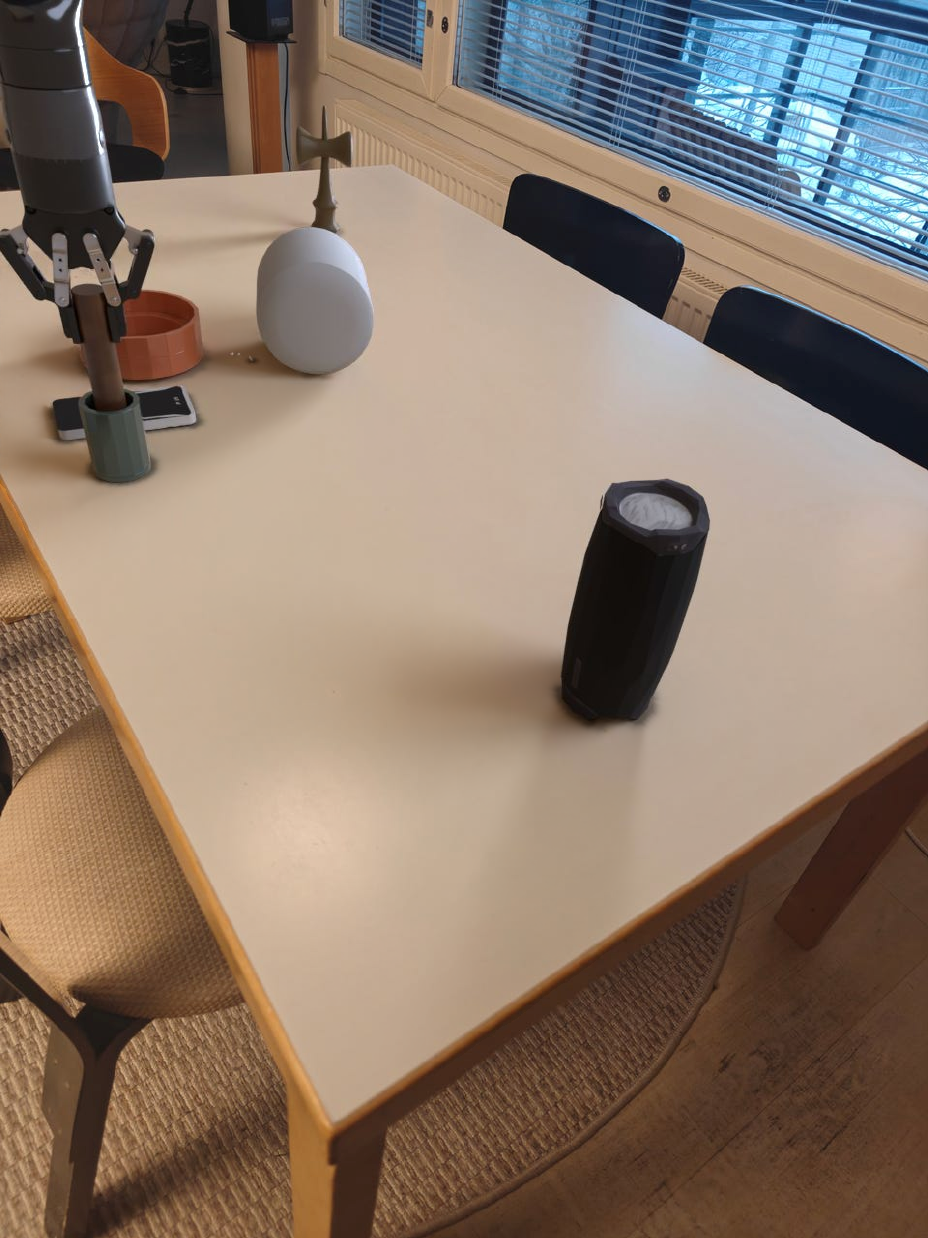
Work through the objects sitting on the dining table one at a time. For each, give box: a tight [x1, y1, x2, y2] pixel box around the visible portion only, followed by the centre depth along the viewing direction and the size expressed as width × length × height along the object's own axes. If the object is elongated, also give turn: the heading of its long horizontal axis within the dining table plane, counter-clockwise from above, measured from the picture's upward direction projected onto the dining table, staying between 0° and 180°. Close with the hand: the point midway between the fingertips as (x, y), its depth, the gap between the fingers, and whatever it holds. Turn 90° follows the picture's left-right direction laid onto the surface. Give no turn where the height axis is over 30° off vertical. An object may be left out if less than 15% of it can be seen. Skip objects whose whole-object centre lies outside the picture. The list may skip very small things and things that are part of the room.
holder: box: [79, 387, 152, 483], centre depth 90 cm, size 6×6×8 cm
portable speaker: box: [560, 478, 711, 721], centre depth 68 cm, size 9×9×20 cm
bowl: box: [76, 289, 205, 381], centre depth 111 cm, size 15×15×6 cm
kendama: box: [295, 105, 354, 234], centre depth 149 cm, size 6×10×20 cm, turn 98°
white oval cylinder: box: [230, 226, 375, 375], centre depth 116 cm, size 19×15×25 cm
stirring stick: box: [71, 283, 127, 412], centre depth 86 cm, size 3×3×16 cm
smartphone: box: [51, 385, 197, 441], centre depth 101 cm, size 8×1×15 cm
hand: (97, 339), depth 84 cm, fingers closed on stirring stick, 3 cm apart
